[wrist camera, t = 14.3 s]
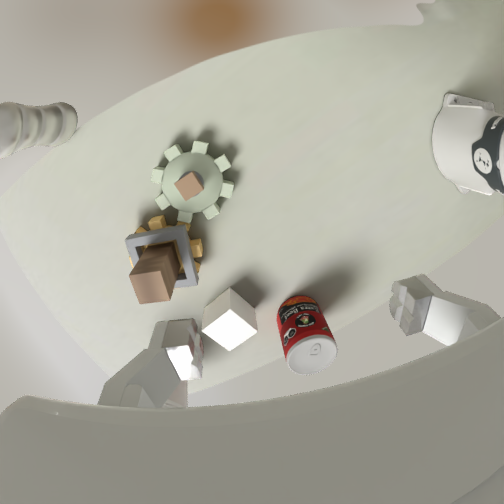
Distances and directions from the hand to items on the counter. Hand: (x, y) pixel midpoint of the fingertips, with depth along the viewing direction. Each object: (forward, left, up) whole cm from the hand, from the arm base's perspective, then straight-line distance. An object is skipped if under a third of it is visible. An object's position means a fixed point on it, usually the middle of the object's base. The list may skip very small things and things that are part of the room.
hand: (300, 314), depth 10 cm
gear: (+7, -3, -29) cm, 30 cm away
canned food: (0, +24, -29) cm, 38 cm away
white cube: (+10, +18, -29) cm, 36 cm away
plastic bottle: (+22, -20, -29) cm, 42 cm away
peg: (+15, +5, -27) cm, 31 cm away
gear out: (+15, +5, -29) cm, 33 cm away
